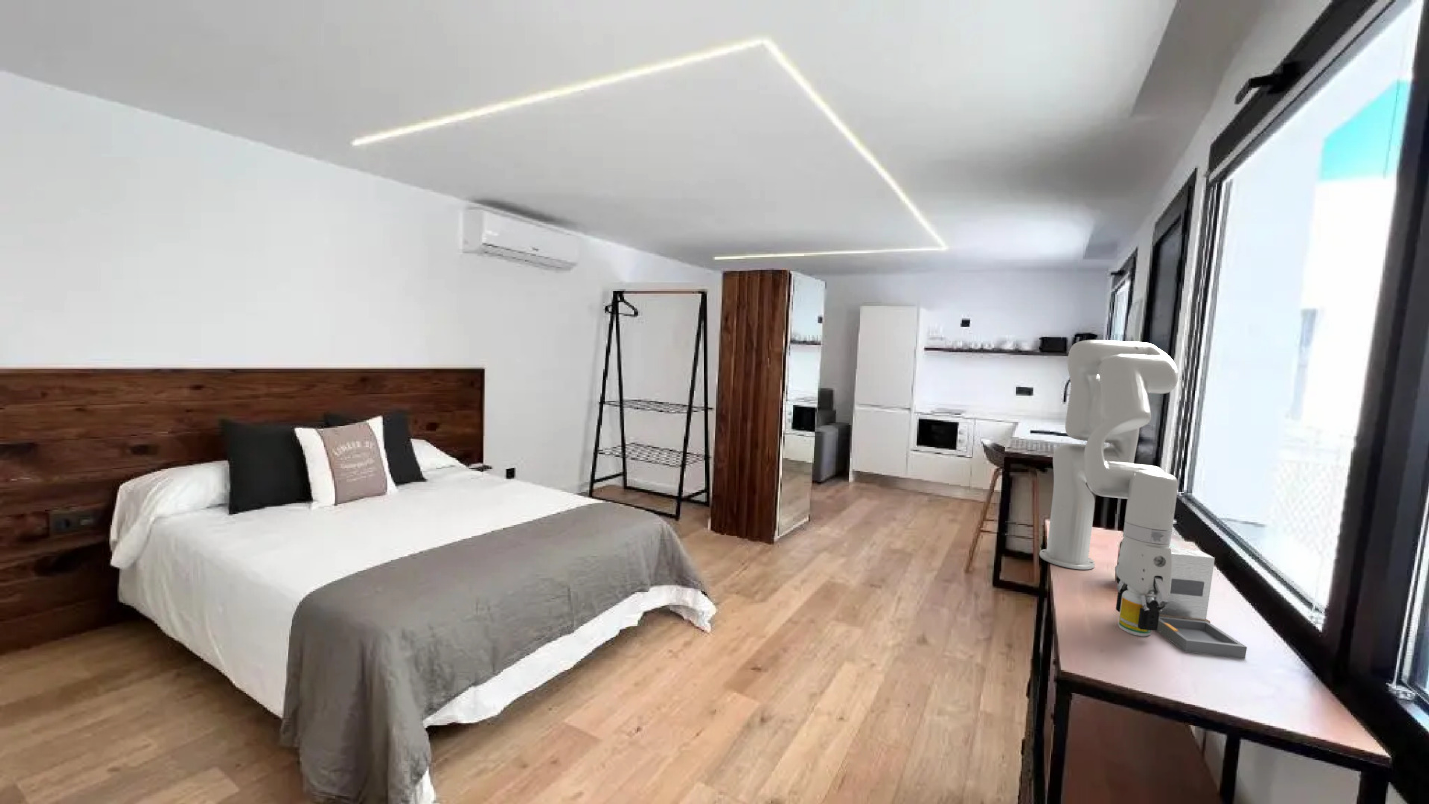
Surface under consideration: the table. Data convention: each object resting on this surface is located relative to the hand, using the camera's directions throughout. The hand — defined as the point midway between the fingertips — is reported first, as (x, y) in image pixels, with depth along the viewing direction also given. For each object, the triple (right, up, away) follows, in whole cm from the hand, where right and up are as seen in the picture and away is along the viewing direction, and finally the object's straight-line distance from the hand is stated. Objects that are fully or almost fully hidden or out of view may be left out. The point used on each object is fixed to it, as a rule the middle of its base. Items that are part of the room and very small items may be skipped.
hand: (1135, 619), depth 115 cm
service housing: (+12, -2, +7) cm, 14 cm away
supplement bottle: (0, -2, 0) cm, 3 cm away
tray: (+10, -3, -3) cm, 10 cm away
